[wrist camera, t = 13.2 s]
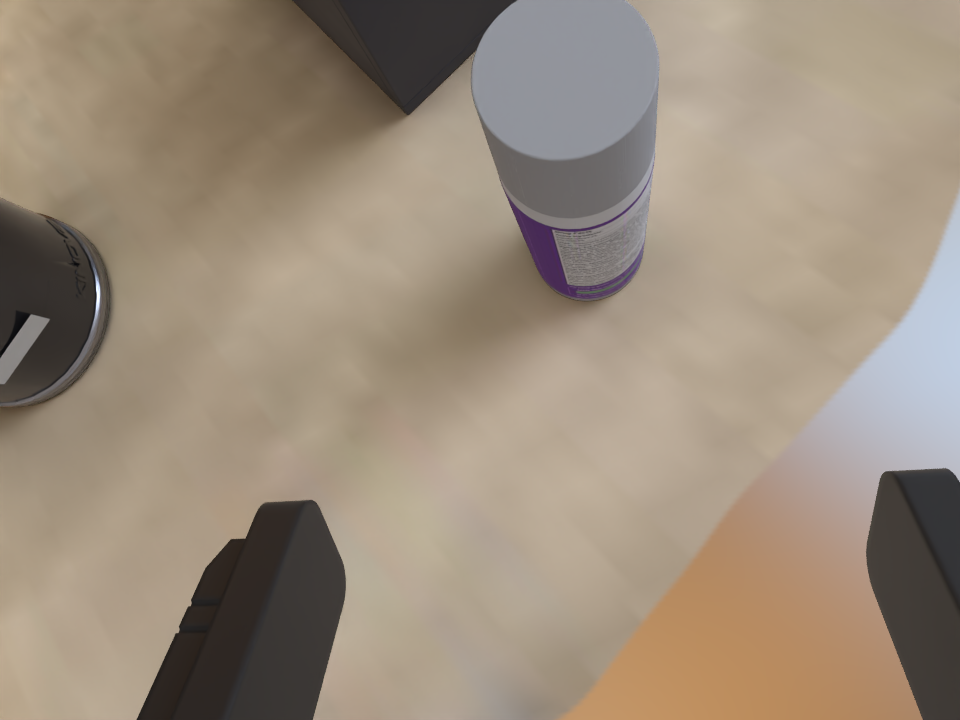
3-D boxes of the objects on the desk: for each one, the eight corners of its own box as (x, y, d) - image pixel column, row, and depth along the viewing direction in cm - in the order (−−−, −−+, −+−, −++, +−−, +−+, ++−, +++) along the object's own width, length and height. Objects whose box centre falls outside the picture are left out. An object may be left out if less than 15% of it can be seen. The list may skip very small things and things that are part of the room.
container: (519, 217, 33) (442, 22, 19) (622, 180, 33) (626, -52, 18) (552, 316, 32) (498, 194, 18) (659, 280, 32) (694, 123, 17)
